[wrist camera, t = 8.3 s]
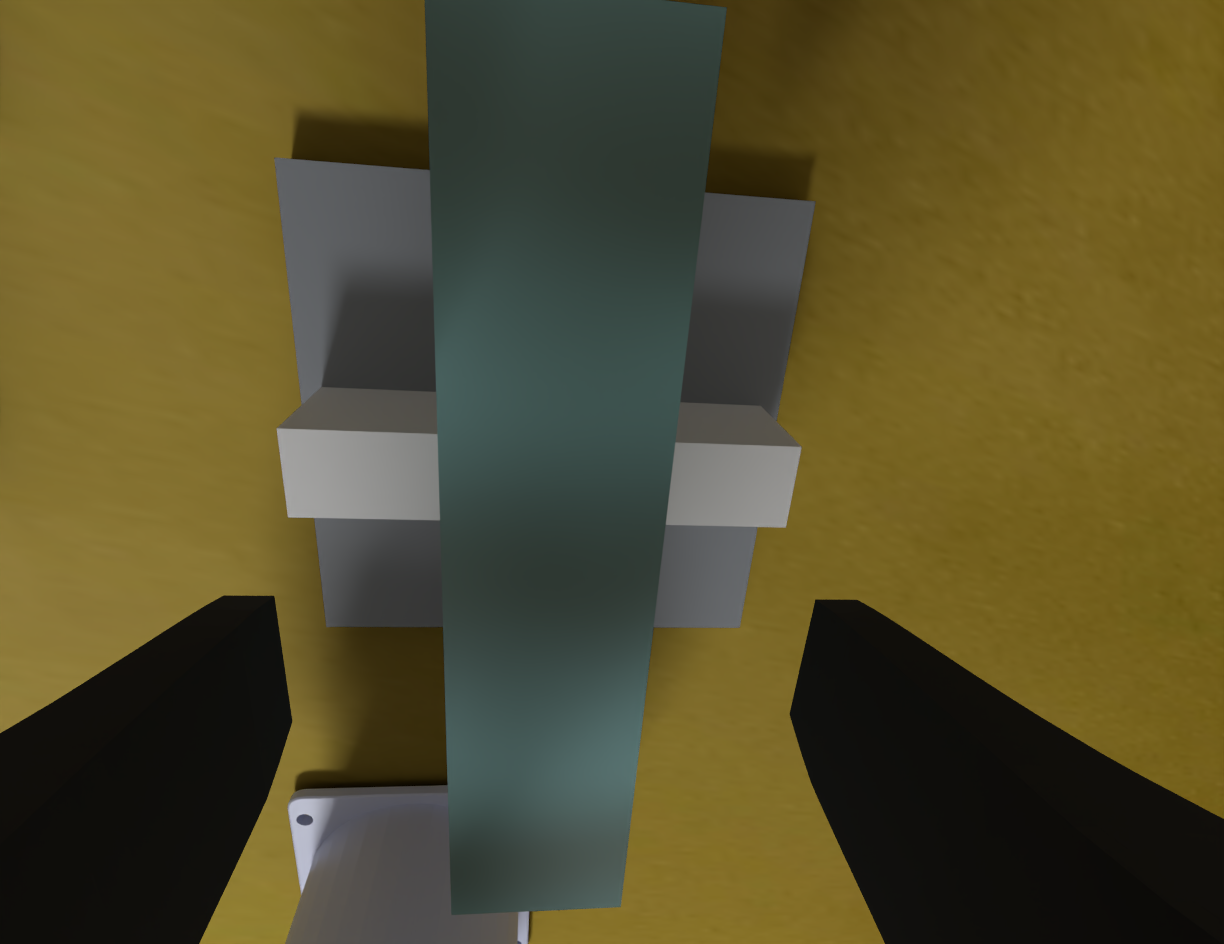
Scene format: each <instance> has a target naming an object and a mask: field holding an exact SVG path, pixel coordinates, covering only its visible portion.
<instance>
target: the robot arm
mask: <svg viewBox="0 0 1224 944" xmlns="http://www.w3.org/2000/svg"><path fill="white" fill-rule="evenodd" d="M790 717H791V720H792V724H793V727H794V730H795V734H796V737H797V740H798V744H799V747H800V750H801V754H802V757H803V760H804V763H805V766H806V769H807V772H808V775H809V778H810V781H811V783H812V786H813V788H814V790H815V793H816V795H817V797H818V799H819V802H820V804H821V806H822V808H823V810H824V813H825V815H826V817H827V819H828V821H829V824H830V826H831V828H832V830H833V832H834V835H835V837H836V839H837V841H838V843H839V845H840V848H841V850H842V852H843V854H844V856H845V858H846V861H847V863H848V865H849V867H850V869H851V871H852V873H853V876H854V878H855V880H856V882H857V884H858V886H859V888H860V891H861V893H862V895H863V897H864V899H865V901H866V903H867V906H868V908H869V910H870V912H871V914H872V916H873V919H874V921H875V923H876V925H877V927H878V929H879V931H880V934H881V936H882V938H883V940H884V942H885V944H1224V819H1223V818H1221V817H1219V816H1217V815H1215V814H1213V813H1211V812H1209V811H1207V810H1205V809H1203V808H1201V807H1200V806H1198V805H1196V804H1194V803H1192V802H1190V801H1188V800H1186V799H1184V798H1183V797H1181V796H1179V795H1177V794H1175V793H1173V792H1171V791H1169V790H1167V789H1166V788H1164V787H1162V786H1160V785H1158V784H1156V783H1154V782H1152V781H1150V780H1148V779H1147V778H1145V777H1143V776H1141V775H1139V774H1137V773H1135V772H1134V771H1132V770H1130V769H1128V768H1127V767H1125V766H1123V765H1121V764H1119V763H1118V762H1116V761H1114V760H1112V759H1110V758H1109V757H1107V756H1105V755H1103V754H1102V753H1100V752H1098V751H1097V750H1095V749H1093V748H1092V747H1090V746H1088V745H1087V744H1085V743H1083V742H1082V741H1080V740H1078V739H1076V738H1075V737H1073V736H1071V735H1070V734H1068V733H1066V732H1065V731H1063V730H1061V729H1060V728H1058V727H1056V726H1055V725H1053V724H1051V723H1050V722H1048V721H1046V720H1045V719H1043V718H1041V717H1040V716H1038V715H1037V714H1035V713H1033V712H1032V711H1030V710H1029V709H1027V708H1025V707H1024V706H1022V705H1021V704H1019V703H1017V702H1016V701H1014V700H1013V699H1011V698H1010V697H1008V696H1006V695H1005V694H1003V693H1002V692H1000V691H999V690H997V689H996V688H994V687H992V686H991V685H989V684H988V683H986V682H985V681H983V680H982V679H980V678H979V677H977V676H976V675H974V674H972V673H971V672H969V671H968V670H966V669H965V668H963V667H962V666H960V665H959V664H957V663H956V662H954V661H953V660H951V659H950V658H948V657H947V656H945V655H944V654H942V653H941V652H939V651H938V650H936V649H935V648H933V647H932V646H930V645H929V644H927V643H926V642H924V641H923V640H921V639H920V638H918V637H917V636H915V635H914V634H912V633H911V632H909V631H908V630H906V629H904V628H903V627H901V626H900V625H898V624H897V623H895V622H894V621H892V620H891V619H889V618H887V617H886V616H884V615H883V614H881V613H879V612H878V611H876V610H874V609H873V608H871V607H869V606H867V605H865V604H864V603H862V602H860V601H858V600H815V604H814V609H813V613H812V618H811V622H810V626H809V631H808V635H807V640H806V644H805V648H804V653H803V657H802V662H801V666H800V671H799V675H798V679H797V684H796V688H795V693H794V697H793V702H792V706H791V710H790ZM291 724H292V716H291V709H290V702H289V695H288V688H287V681H286V674H285V667H284V661H283V654H282V647H281V640H280V633H279V626H278V619H277V612H276V605H275V598H274V596H222V597H220V598H219V599H217V600H215V601H213V602H211V603H209V604H208V605H206V606H204V607H203V608H201V609H199V610H198V611H196V612H194V613H193V614H191V615H190V616H188V617H186V618H185V619H183V620H182V621H180V622H178V623H177V624H175V625H174V626H172V627H171V628H169V629H167V630H166V631H164V632H163V633H161V634H160V635H158V636H157V637H155V638H153V639H152V640H150V641H149V642H147V643H146V644H144V645H143V646H141V647H139V648H138V649H136V650H135V651H133V652H132V653H130V654H129V655H127V656H125V657H124V658H122V659H121V660H119V661H118V662H116V663H114V664H113V665H111V666H110V667H108V668H106V669H105V670H103V671H102V672H100V673H99V674H97V675H95V676H94V677H92V678H91V679H89V680H88V681H86V682H84V683H83V684H81V685H80V686H78V687H77V688H75V689H73V690H72V691H70V692H69V693H67V694H65V695H64V696H62V697H61V698H59V699H57V700H56V701H54V702H53V703H51V704H49V705H48V706H46V707H44V708H42V709H41V710H39V711H37V712H36V713H34V714H32V715H31V716H29V717H27V718H26V719H24V720H22V721H20V722H19V723H17V724H15V725H14V726H12V727H10V728H9V729H7V730H5V731H4V732H2V733H0V944H199V943H200V941H201V938H202V936H203V934H204V932H205V930H206V928H207V926H208V924H209V922H210V919H211V917H212V915H213V913H214V911H215V909H216V907H217V905H218V903H219V900H220V898H221V896H222V894H223V892H224V890H225V888H226V886H227V884H228V881H229V879H230V877H231V875H232V873H233V871H234V869H235V867H236V865H237V862H238V860H239V858H240V856H241V854H242V852H243V850H244V847H245V845H246V843H247V841H248V839H249V837H250V835H251V832H252V830H253V828H254V826H255V824H256V822H257V819H258V817H259V815H260V813H261V811H262V808H263V806H264V804H265V802H266V800H267V797H268V794H269V791H270V788H271V785H272V782H273V780H274V777H275V774H276V771H277V768H278V765H279V762H280V759H281V756H282V752H283V749H284V746H285V743H286V740H287V736H288V733H289V730H290V727H291ZM288 813H289V820H290V826H291V832H292V839H293V845H294V851H295V858H296V864H297V870H298V877H299V883H300V889H301V898H300V901H299V904H298V907H297V910H296V913H295V916H294V919H293V922H292V925H291V928H290V931H289V934H288V937H287V940H286V943H285V944H528V929H529V911H526V912H506V913H485V914H465V915H451V884H450V849H449V815H448V785H436V786H397V787H359V788H320V789H302V790H298V791H296V792H294V794H293V795H292V796H291V798H290V801H289V803H288ZM305 814H307V815H305Z"/></svg>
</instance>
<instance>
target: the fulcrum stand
mask: <svg viewBox="0 0 1224 944" xmlns="http://www.w3.org/2000/svg"><path fill="white" fill-rule="evenodd" d="M274 159H275V168H276V177H277V186H278V195H279V204H280V213H281V222H282V231H283V240H284V249H285V258H286V267H287V276H288V285H289V294H290V303H291V312H292V321H293V330H294V339H295V348H296V357H297V366H298V375H299V384H300V393H301V402H302V405H301V406H300V407H299V408H298V409H297V410H296V411H295V412H294V413H293V414H292V415H291V416H290V417H288V418H287V419H286V420H285V421H284V422H283V423H282V424H281V425H280V426H279V427H278V428H277V435H278V443H279V450H280V458H281V466H282V474H283V482H284V490H285V497H286V505H287V513H288V517H298V518H314V520H315V529H316V538H317V547H318V556H319V565H320V574H321V583H322V592H323V601H324V610H325V619H326V627H443V609H442V574H441V540H440V506H439V471H438V437H437V402H436V368H435V334H434V299H433V265H432V231H431V196H430V170H421V169H408V168H396V167H384V166H371V165H359V164H347V163H335V162H322V161H310V160H298V159H285V158H274ZM814 208H815V201H803V200H790V199H778V198H766V197H753V196H741V195H729V194H716V193H705V196H704V205H703V213H702V222H701V230H700V239H699V247H698V255H697V264H696V272H695V281H694V289H693V298H692V306H691V315H690V323H689V332H688V340H687V348H686V357H685V365H684V374H683V382H682V391H681V399H680V408H679V416H678V425H677V433H676V442H675V450H674V458H673V467H672V475H671V484H670V492H669V501H668V509H667V518H666V526H665V535H664V543H663V552H662V560H661V568H660V577H659V585H658V594H657V602H656V611H655V619H654V627H698V628H740V623H741V617H742V611H743V606H744V600H745V595H746V589H747V583H748V578H749V572H750V566H751V561H752V555H753V550H754V544H755V538H756V533H757V527H786V524H787V519H788V514H789V509H790V504H791V498H792V493H793V488H794V483H795V478H796V473H797V468H798V463H799V458H800V453H801V448H802V447H801V446H800V445H799V444H798V443H797V442H796V441H795V440H794V439H793V438H792V437H791V436H790V435H789V434H788V433H787V432H786V431H785V430H784V429H783V428H782V427H781V426H780V425H779V424H778V423H777V422H776V421H777V415H778V409H779V404H780V398H781V393H782V387H783V381H784V376H785V370H786V365H787V359H788V353H789V348H790V342H791V337H792V331H793V325H794V320H795V314H796V309H797V303H798V297H799V292H800V286H801V281H802V275H803V269H804V264H805V258H806V253H807V247H808V241H809V236H810V230H811V224H812V219H813V213H814Z"/></svg>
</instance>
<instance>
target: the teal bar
mask: <svg viewBox="0 0 1224 944" xmlns="http://www.w3.org/2000/svg"><path fill="white" fill-rule="evenodd" d="M726 10H727V8H726V7H718V6H709V5H701V4H692V3H683V2H675V1H666V0H425V24H426V59H427V93H428V127H429V162H430V196H431V231H432V265H433V299H434V334H435V368H436V402H437V437H438V471H439V506H440V540H441V574H442V609H443V643H444V677H445V712H446V746H447V781H448V815H449V849H450V884H451V915H465V914H485V913H506V912H526V911H547V910H567V909H588V908H609V907H621V898H622V890H623V881H624V873H625V865H626V856H627V848H628V839H629V831H630V822H631V814H632V805H633V797H634V788H635V780H636V771H637V763H638V755H639V746H640V738H641V729H642V721H643V712H644V704H645V695H646V687H647V678H648V670H649V662H650V653H651V645H652V636H653V628H654V619H655V611H656V602H657V594H658V585H659V577H660V568H661V560H662V552H663V543H664V535H665V526H666V518H667V509H668V501H669V492H670V484H671V475H672V467H673V458H674V450H675V442H676V433H677V425H678V416H679V408H680V399H681V391H682V382H683V374H684V365H685V357H686V348H687V340H688V332H689V323H690V315H691V306H692V298H693V289H694V281H695V272H696V264H697V255H698V247H699V239H700V230H701V222H702V213H703V205H704V196H705V188H706V179H707V171H708V162H709V154H710V145H711V137H712V129H713V120H714V112H715V103H716V95H717V86H718V78H719V69H720V61H721V52H722V44H723V35H724V27H725V19H726Z"/></svg>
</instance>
